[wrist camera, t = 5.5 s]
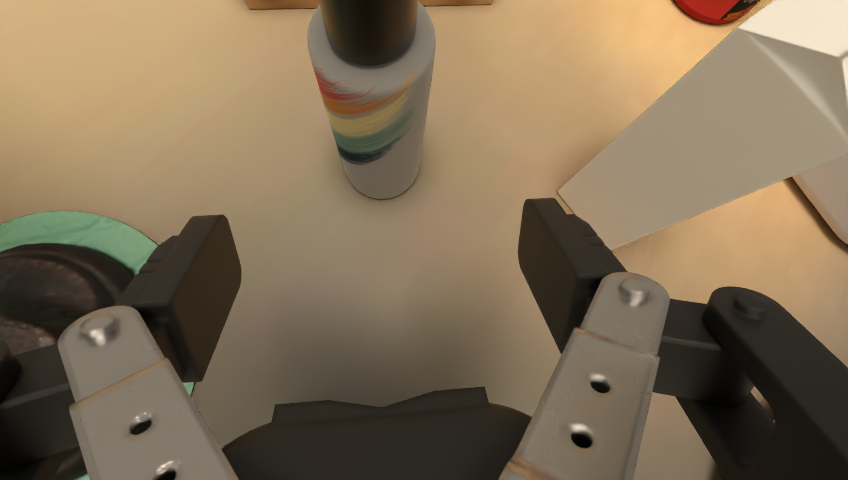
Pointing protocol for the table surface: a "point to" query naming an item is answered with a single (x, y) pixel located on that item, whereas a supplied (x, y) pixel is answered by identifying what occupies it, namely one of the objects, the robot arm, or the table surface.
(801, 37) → the milk
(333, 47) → the lotion bottle
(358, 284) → the table surface
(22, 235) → the chocolate cake
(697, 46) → the table surface
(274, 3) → the wall panel
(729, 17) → the canned food
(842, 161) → the plastic bottle
